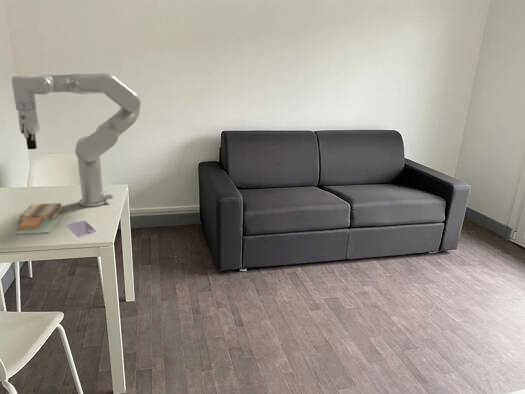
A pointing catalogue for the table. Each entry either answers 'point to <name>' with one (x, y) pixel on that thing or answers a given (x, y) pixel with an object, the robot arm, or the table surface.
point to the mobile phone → (82, 228)
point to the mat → (41, 228)
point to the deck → (42, 211)
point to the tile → (31, 223)
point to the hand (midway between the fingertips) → (32, 148)
